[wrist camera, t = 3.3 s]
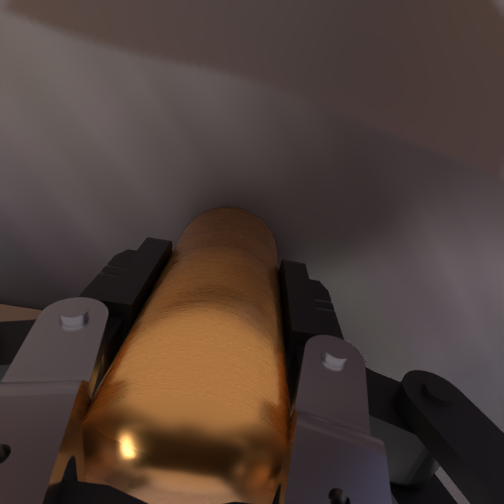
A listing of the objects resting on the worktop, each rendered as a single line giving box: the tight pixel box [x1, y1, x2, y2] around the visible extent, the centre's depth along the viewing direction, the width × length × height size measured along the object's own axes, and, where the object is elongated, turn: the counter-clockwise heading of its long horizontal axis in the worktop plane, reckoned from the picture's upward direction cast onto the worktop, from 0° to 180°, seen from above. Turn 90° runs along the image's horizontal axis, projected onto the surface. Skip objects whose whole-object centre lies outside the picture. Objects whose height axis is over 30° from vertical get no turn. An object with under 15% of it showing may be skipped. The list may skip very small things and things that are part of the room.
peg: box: [82, 207, 291, 504], centre depth 9 cm, size 4×4×8 cm
